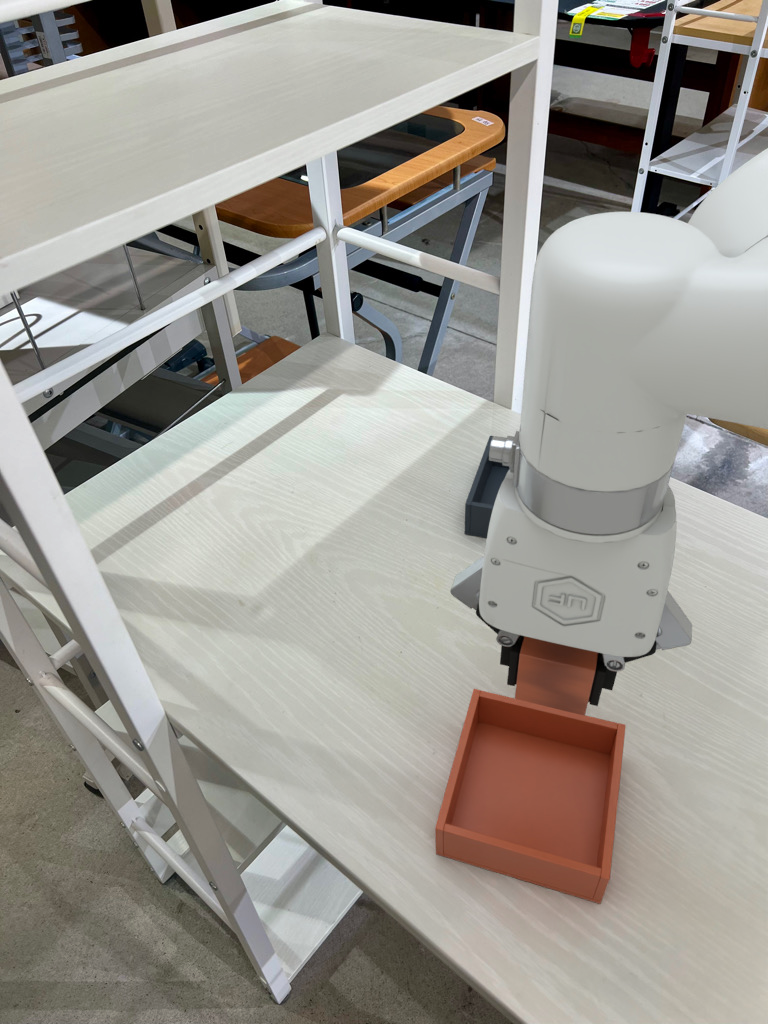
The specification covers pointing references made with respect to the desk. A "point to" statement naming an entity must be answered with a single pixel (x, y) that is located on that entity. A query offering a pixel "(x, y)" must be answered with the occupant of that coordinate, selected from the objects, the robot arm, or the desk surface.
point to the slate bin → (483, 494)
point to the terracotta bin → (534, 795)
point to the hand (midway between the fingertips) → (555, 676)
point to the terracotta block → (555, 675)
